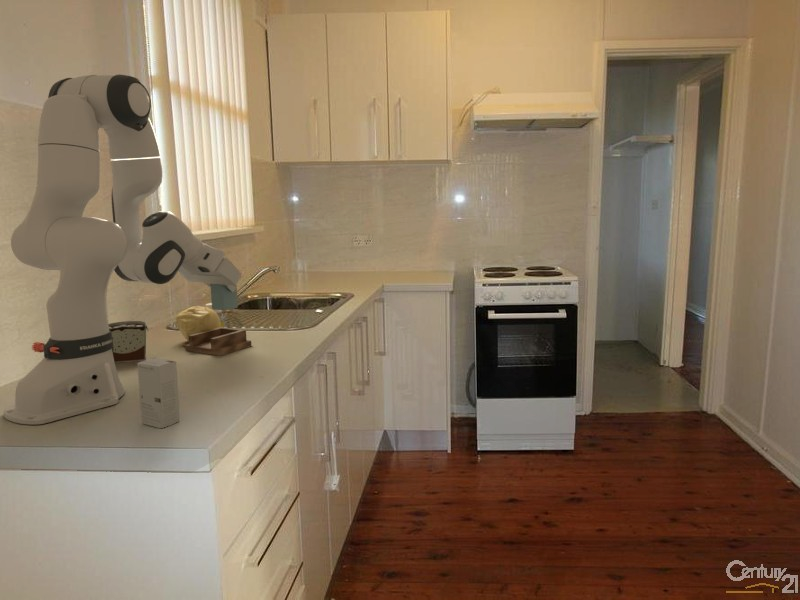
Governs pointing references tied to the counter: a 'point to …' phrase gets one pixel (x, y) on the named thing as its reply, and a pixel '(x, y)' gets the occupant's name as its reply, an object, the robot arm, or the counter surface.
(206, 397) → the counter surface
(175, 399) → the skincare box
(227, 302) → the tin
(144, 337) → the food container
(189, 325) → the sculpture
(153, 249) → the robot arm
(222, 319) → the supplement bottle
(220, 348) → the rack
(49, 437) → the counter surface
